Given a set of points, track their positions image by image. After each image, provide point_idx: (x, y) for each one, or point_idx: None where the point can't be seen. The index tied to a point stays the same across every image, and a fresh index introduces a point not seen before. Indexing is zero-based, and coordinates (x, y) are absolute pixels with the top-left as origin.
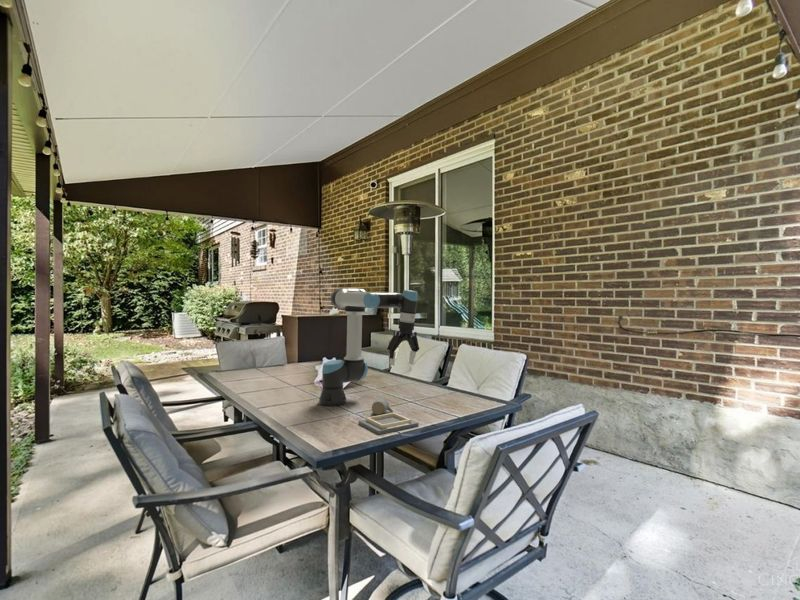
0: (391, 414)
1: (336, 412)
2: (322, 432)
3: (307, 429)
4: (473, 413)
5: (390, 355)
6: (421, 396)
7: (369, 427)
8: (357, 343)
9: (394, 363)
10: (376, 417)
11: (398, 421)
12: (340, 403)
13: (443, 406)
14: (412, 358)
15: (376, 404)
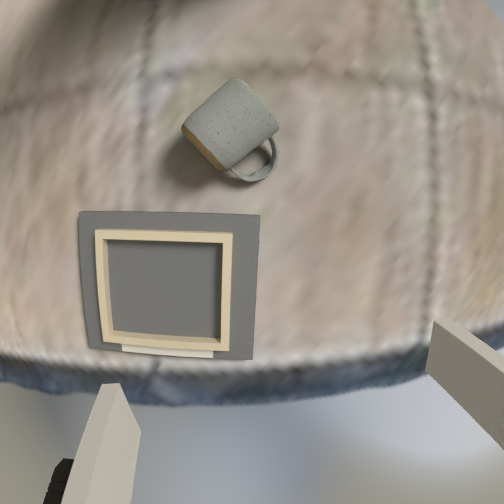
0: (211, 241)
1: (103, 42)
2: None
3: None
4: None
5: (57, 494)
6: (483, 75)
7: (84, 290)
8: None
9: (136, 449)
10: (136, 239)
11: (174, 342)
12: None
13: (473, 217)
14: (465, 394)
15: (191, 142)
